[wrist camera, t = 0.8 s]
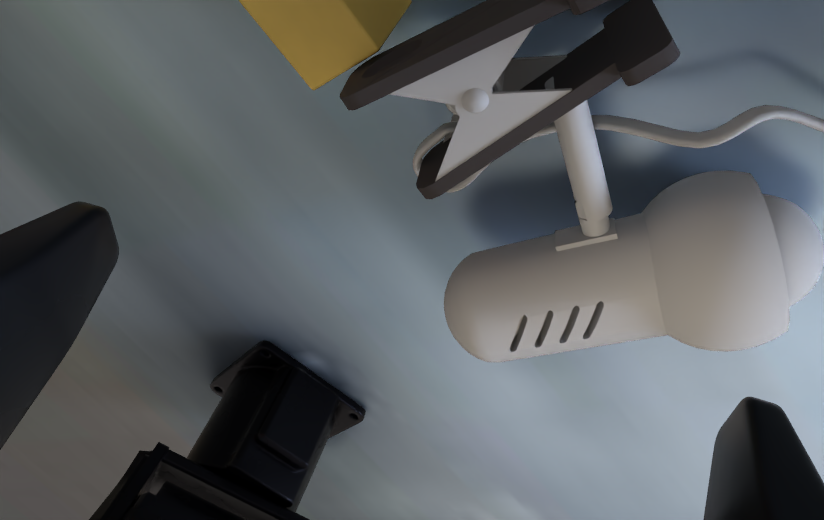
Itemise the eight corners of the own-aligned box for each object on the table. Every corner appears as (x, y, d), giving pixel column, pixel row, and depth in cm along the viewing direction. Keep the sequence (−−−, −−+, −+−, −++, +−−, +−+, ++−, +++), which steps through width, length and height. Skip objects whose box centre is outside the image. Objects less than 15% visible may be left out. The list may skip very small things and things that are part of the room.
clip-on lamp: (1120, -249, 15) (347, 12, 20) (1426, -252, 10) (288, 99, 15) (1057, 212, 21) (469, 325, 26) (1229, 359, 16) (457, 464, 21)
